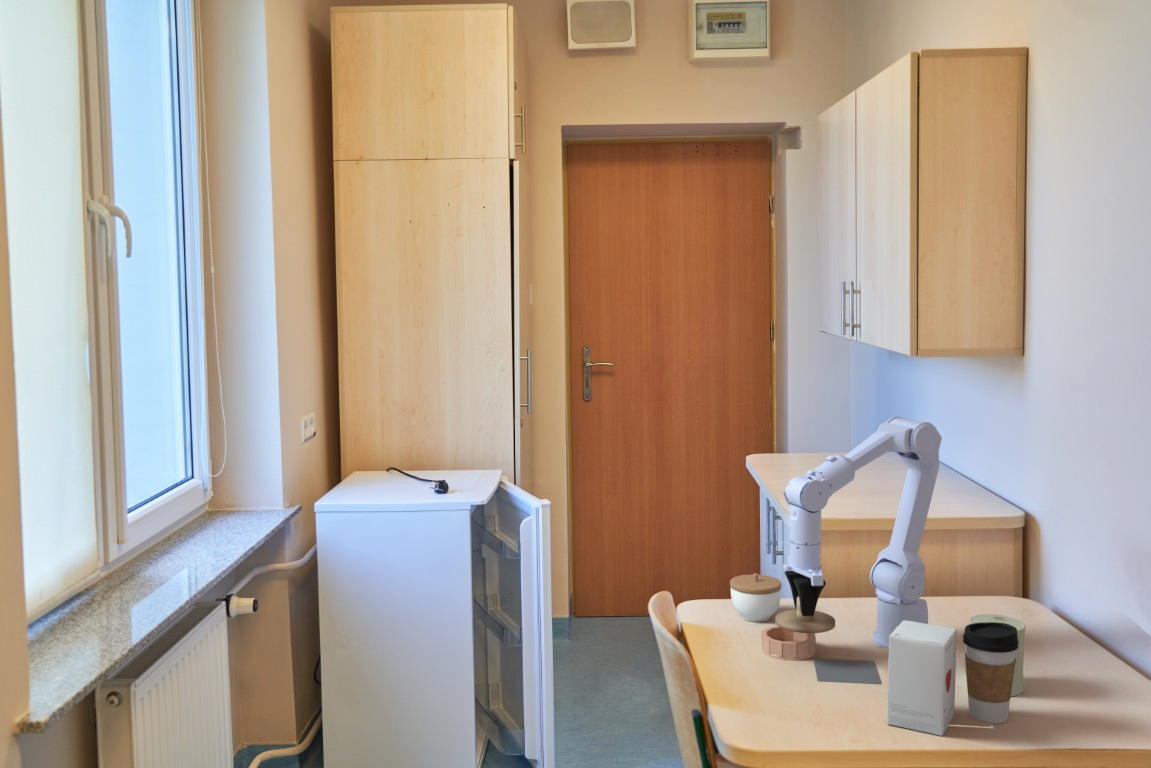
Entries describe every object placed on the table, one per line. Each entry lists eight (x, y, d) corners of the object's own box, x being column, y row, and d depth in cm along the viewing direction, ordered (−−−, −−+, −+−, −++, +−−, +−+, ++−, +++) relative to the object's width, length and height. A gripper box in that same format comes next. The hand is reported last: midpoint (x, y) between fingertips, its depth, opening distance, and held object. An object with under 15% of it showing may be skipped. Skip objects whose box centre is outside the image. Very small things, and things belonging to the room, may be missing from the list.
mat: (874, 662, 192) (874, 660, 192) (881, 686, 182) (881, 684, 182) (813, 660, 194) (813, 658, 194) (817, 683, 183) (817, 680, 183)
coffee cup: (1021, 729, 164) (1024, 638, 162) (965, 725, 166) (967, 634, 164) (1010, 707, 172) (1013, 620, 170) (956, 704, 174) (959, 617, 172)
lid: (828, 613, 200) (828, 589, 199) (841, 633, 189) (841, 607, 188) (771, 613, 200) (771, 589, 200) (780, 633, 189) (780, 607, 189)
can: (1021, 679, 184) (1023, 614, 182) (1025, 699, 175) (1028, 631, 174) (966, 673, 187) (967, 609, 185) (967, 693, 178) (969, 626, 177)
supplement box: (943, 737, 161) (945, 645, 160) (885, 725, 166) (887, 635, 165) (956, 716, 169) (958, 627, 168) (900, 704, 174) (902, 618, 172)
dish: (813, 644, 202) (813, 626, 202) (816, 663, 193) (816, 644, 192) (761, 642, 204) (761, 624, 204) (762, 660, 194) (762, 642, 194)
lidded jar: (791, 617, 218) (792, 574, 217) (758, 629, 211) (758, 584, 210) (752, 605, 226) (752, 563, 225) (719, 616, 220) (719, 573, 219)
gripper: (772, 532, 200) (772, 601, 201) (797, 552, 185) (796, 626, 187) (808, 531, 200) (807, 599, 202) (835, 551, 186) (833, 624, 188)
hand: (804, 612), depth 194 cm, fingers closed on lid, 3 cm apart
